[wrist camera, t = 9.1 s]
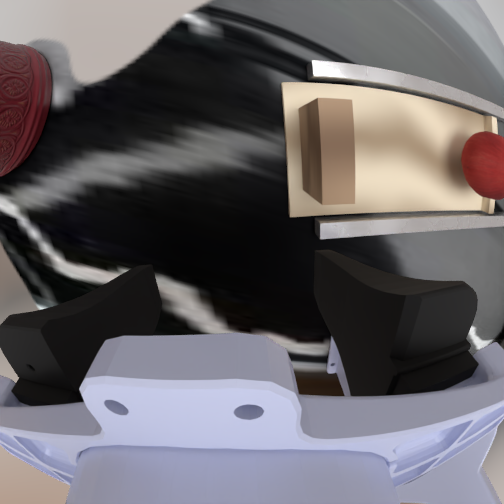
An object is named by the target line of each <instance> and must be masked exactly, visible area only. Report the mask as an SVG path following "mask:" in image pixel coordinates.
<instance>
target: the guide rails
mask: <svg viewBox="0 0 504 504" xmlns="http://www.w3.org/2000/svg"><path fill="white" fill-rule="evenodd" d="M307 76H308V81H328V82H341V83H351V84H360V85H368V86H375V87H382V88H388V89H393V90H399V91H404V92H409V93H414V94H418V95H422V96H427V97H431V98H434V99H438V100H442V101H445V102H449V103H452V104H456V105H459V106H462V107H465V108H468V109H471V110H474V111H477V112H480V113H482V114H485V115H488V116H493V117H495V118H497V119H498V120H500V121H502V122H504V108H502V107H500V106H498V105H496V104H493V103H491V102H489V101H487V100H484V99H482V98H480V97H477V96H475V95H472V94H470V93H467V92H464V91H462V90H459V89H456V88H453V87H450V86H447V85H444V84H441V83H438V82H434V81H431V80H428V79H424V78H420V77H417V76H413V75H409V74H404V73H400V72H395V71H391V70H386V69H380V68H375V67H369V66H362V65H355V64H347V63H338V62H327V61H313V60H312V61H311V62H310V63H309V64H308V65H307ZM498 226H504V212H493V214H488V213H486V212H427V213H396V214H372V215H351V216H333V217H317V218H315V233H316V235H317V236H318V237H319V238H320V239H330V238H343V237H356V236H369V235H382V234H396V233H410V232H424V231H438V230H453V229H468V228H483V227H498Z"/></svg>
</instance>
